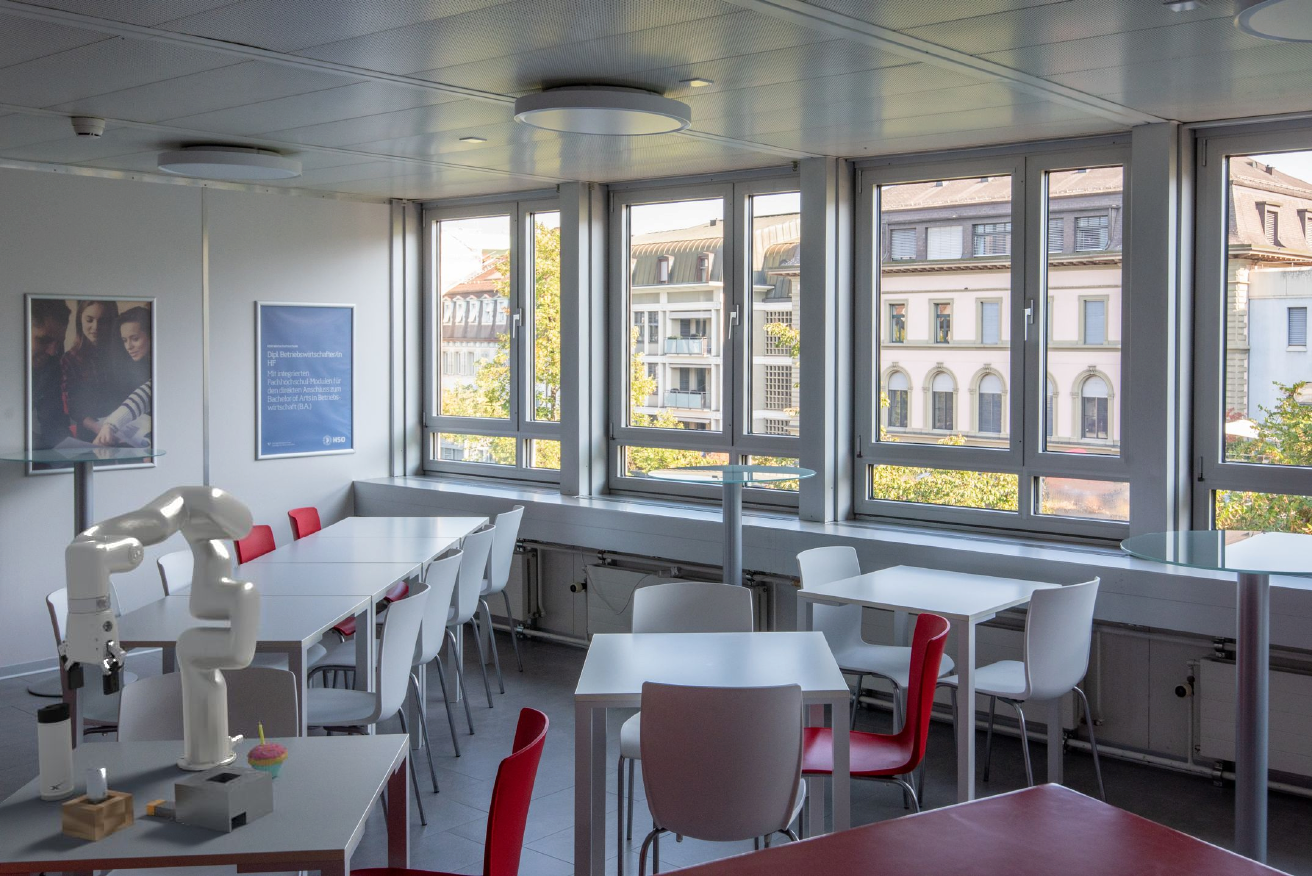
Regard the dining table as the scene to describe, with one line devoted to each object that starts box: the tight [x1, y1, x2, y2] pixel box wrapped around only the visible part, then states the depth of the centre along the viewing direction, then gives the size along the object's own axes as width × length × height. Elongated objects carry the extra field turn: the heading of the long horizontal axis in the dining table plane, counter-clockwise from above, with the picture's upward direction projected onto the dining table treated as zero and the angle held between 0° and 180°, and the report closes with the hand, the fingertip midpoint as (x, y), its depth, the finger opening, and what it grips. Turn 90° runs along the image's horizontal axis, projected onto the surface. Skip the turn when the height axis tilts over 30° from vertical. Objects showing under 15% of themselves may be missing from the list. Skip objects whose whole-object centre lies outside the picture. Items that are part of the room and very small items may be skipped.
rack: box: [61, 789, 135, 842], centre depth 221 cm, size 9×9×6 cm
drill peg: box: [85, 765, 108, 805], centre depth 221 cm, size 4×4×11 cm
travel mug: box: [36, 702, 75, 802], centre depth 239 cm, size 6×7×20 cm
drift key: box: [146, 798, 176, 820], centre depth 226 cm, size 3×16×2 cm, turn 67°
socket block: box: [174, 764, 274, 833], centre depth 226 cm, size 12×14×8 cm
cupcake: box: [246, 721, 289, 779], centre depth 250 cm, size 9×8×12 cm
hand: (93, 690), depth 220 cm, fingers open, 9 cm apart
